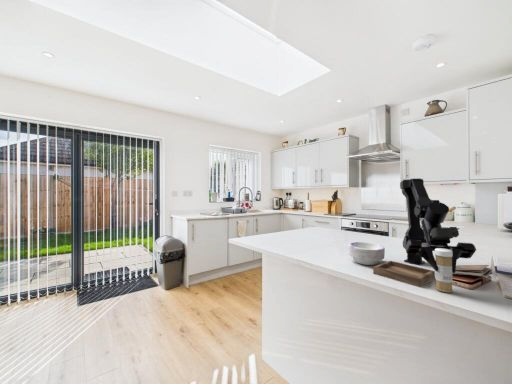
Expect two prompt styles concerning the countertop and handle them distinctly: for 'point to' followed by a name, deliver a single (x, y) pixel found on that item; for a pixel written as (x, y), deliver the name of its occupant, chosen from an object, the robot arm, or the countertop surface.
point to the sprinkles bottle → (443, 269)
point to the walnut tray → (404, 273)
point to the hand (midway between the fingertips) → (445, 271)
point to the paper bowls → (366, 252)
